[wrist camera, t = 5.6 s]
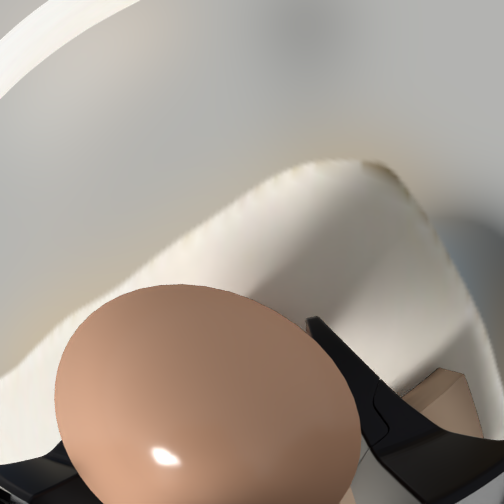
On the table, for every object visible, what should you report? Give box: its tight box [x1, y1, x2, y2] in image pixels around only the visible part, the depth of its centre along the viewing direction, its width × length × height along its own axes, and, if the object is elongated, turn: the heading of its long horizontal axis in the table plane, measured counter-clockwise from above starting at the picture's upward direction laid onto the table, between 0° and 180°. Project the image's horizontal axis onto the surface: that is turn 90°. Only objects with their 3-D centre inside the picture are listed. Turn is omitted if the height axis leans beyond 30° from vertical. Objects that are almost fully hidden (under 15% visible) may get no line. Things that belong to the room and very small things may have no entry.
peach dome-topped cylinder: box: [54, 284, 361, 504], centre depth 9 cm, size 5×5×12 cm
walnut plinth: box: [339, 368, 484, 504], centre depth 11 cm, size 11×11×3 cm
